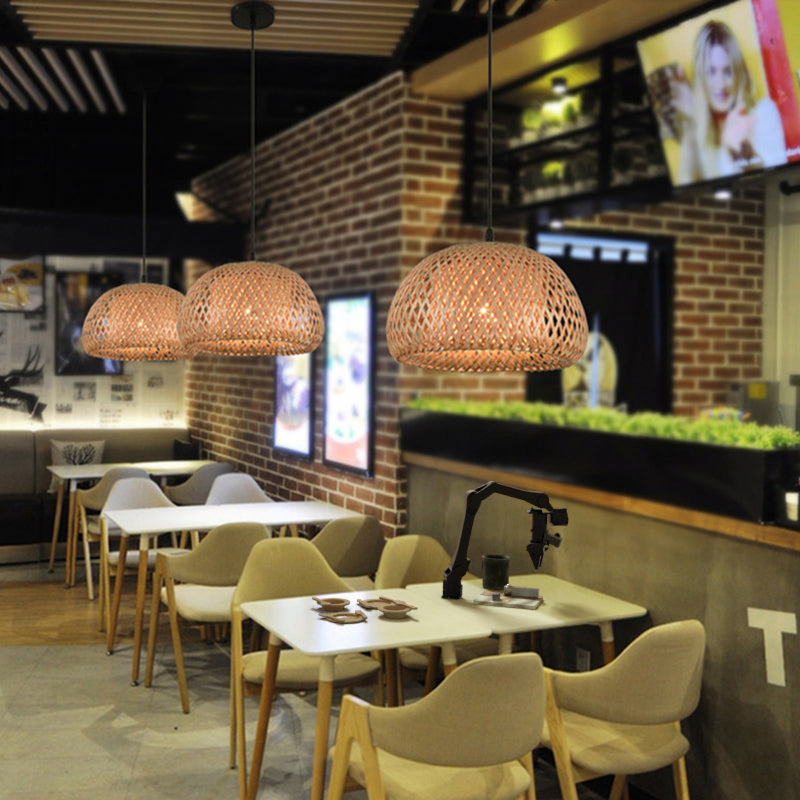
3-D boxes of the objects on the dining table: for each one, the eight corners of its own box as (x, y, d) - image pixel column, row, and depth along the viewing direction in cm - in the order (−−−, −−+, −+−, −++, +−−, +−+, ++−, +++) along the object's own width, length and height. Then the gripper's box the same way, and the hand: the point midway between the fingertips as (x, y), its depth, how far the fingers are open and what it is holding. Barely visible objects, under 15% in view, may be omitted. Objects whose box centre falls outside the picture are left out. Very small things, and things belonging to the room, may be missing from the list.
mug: (491, 591, 390) (492, 559, 390) (471, 584, 403) (471, 553, 403) (515, 589, 396) (516, 558, 395) (494, 582, 408) (494, 552, 408)
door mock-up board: (473, 603, 367) (473, 593, 367) (484, 594, 384) (484, 585, 384) (534, 609, 361) (535, 599, 361) (542, 599, 378) (543, 590, 378)
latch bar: (502, 595, 376) (503, 585, 376) (504, 593, 380) (505, 583, 379) (537, 598, 372) (538, 588, 372) (539, 596, 376) (539, 586, 376)
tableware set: (391, 600, 370) (391, 589, 370) (428, 619, 344) (428, 606, 344) (299, 607, 355) (299, 596, 355) (330, 627, 329) (330, 614, 329)
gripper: (557, 530, 369) (556, 574, 369) (564, 524, 387) (563, 565, 387) (526, 528, 372) (525, 571, 373) (535, 522, 390) (534, 563, 390)
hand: (538, 568), depth 381 cm, fingers open, 6 cm apart
